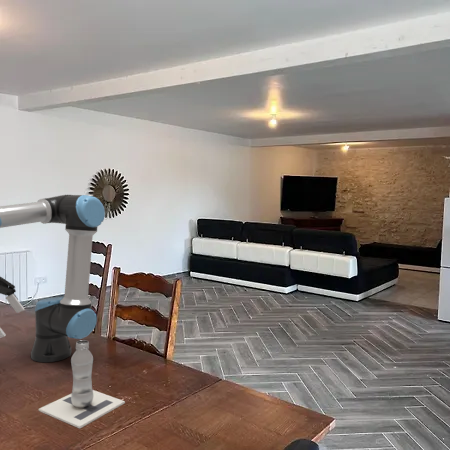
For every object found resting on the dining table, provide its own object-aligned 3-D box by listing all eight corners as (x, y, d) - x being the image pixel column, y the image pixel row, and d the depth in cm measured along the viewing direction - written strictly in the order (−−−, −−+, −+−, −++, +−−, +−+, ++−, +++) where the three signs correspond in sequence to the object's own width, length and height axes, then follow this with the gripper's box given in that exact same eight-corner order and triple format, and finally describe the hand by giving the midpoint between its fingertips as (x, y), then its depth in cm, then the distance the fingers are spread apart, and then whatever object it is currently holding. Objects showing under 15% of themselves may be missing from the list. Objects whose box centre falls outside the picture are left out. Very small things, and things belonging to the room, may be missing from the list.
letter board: (85, 388, 150) (85, 387, 150) (124, 403, 140) (124, 401, 140) (38, 410, 134) (38, 408, 134) (79, 428, 125) (79, 426, 125)
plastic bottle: (87, 411, 133) (87, 346, 132) (66, 408, 135) (66, 344, 133) (97, 401, 139) (97, 339, 138) (77, 399, 141) (77, 337, 139)
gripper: (-19, 255, 146) (18, 305, 153) (-65, 297, 123) (-18, 353, 131) (0, 247, 144) (37, 297, 152) (-43, 288, 122) (3, 345, 129)
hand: (11, 323), depth 141 cm, fingers open, 13 cm apart
